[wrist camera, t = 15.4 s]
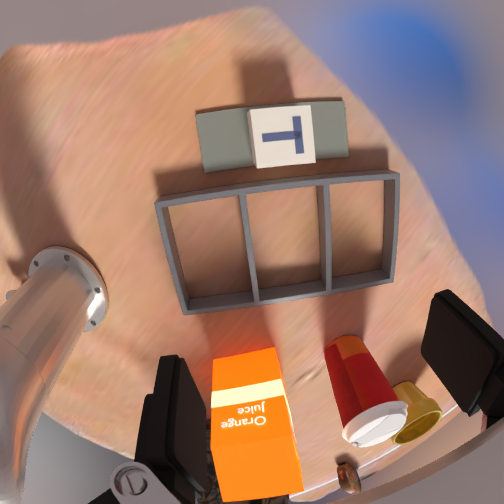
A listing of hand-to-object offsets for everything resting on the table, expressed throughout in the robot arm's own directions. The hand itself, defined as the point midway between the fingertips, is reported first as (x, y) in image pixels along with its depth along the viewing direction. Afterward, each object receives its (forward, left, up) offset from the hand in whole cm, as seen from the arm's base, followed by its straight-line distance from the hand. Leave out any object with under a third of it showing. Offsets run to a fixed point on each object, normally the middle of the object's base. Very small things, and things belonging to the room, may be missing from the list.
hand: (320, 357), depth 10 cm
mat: (+2, +7, -23) cm, 24 cm away
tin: (+16, -73, -23) cm, 79 cm away
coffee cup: (+10, -23, -23) cm, 34 cm away
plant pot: (+23, -39, -23) cm, 51 cm away
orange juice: (-4, -24, -23) cm, 34 cm away
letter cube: (+2, +6, -22) cm, 23 cm away
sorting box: (+2, -5, -23) cm, 23 cm away
